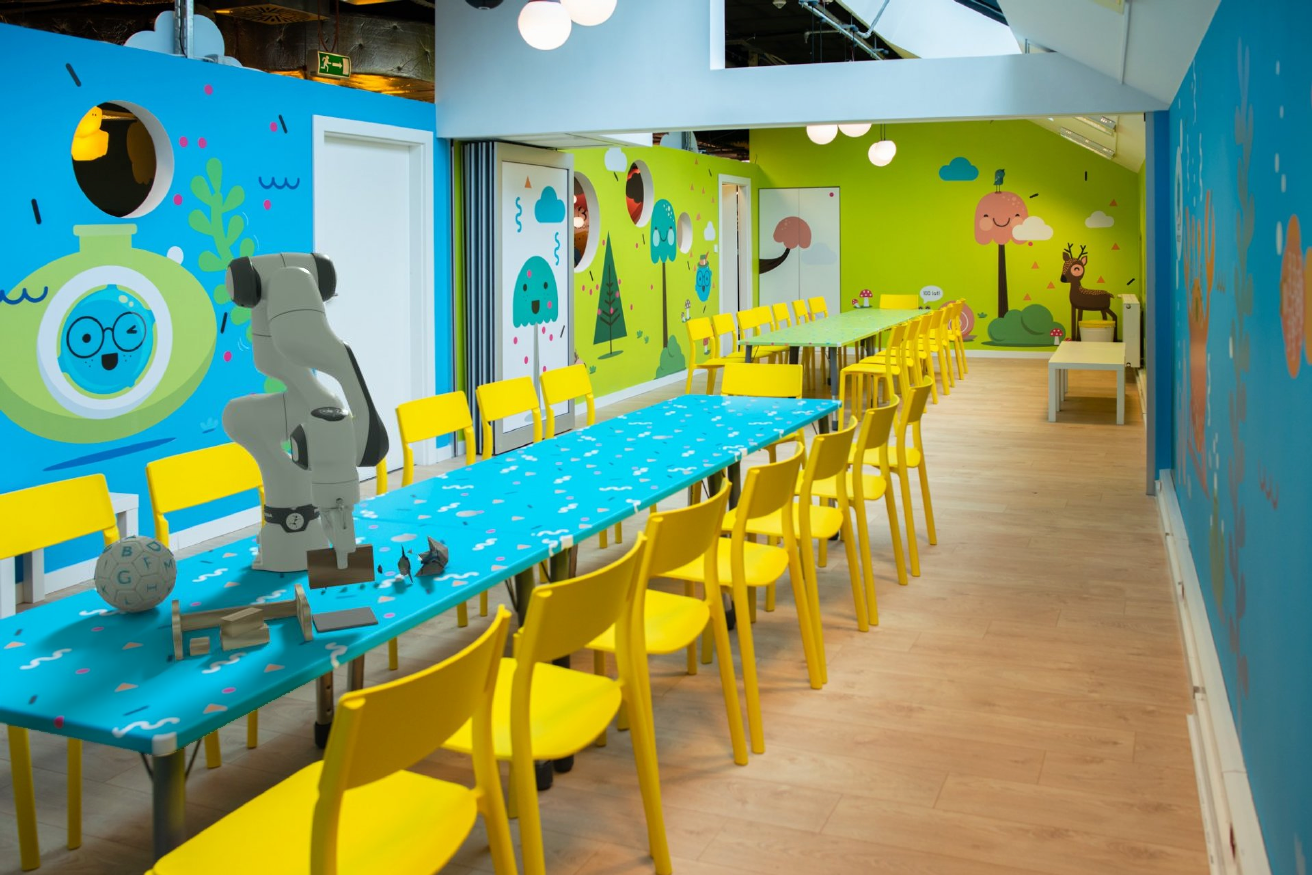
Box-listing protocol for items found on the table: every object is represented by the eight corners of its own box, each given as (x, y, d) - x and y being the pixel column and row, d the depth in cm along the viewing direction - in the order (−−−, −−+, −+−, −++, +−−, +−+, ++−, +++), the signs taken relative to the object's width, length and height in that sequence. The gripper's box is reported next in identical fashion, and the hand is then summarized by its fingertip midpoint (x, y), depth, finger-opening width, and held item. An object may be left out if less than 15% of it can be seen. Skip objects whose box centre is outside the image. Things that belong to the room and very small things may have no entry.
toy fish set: (455, 569, 243) (443, 529, 244) (339, 602, 230) (327, 560, 231) (441, 577, 252) (429, 539, 253) (329, 609, 239) (317, 569, 240)
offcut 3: (221, 647, 207) (219, 631, 207) (266, 638, 211) (265, 622, 211) (224, 652, 205) (222, 636, 204) (270, 643, 209) (269, 627, 208)
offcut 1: (192, 649, 206) (191, 638, 206) (209, 647, 207) (208, 636, 207) (190, 656, 203) (189, 646, 202) (208, 654, 204) (207, 643, 203)
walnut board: (308, 586, 217) (306, 550, 216) (373, 578, 222) (370, 543, 220) (310, 589, 215) (307, 553, 214) (375, 581, 220) (372, 545, 218)
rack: (174, 630, 216) (171, 599, 215) (302, 612, 225) (300, 583, 223) (175, 660, 200) (172, 627, 199) (313, 639, 209) (310, 608, 208)
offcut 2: (221, 634, 205) (219, 618, 204) (252, 622, 211) (251, 607, 210) (232, 637, 203) (231, 620, 203) (263, 625, 209) (262, 609, 209)
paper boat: (444, 572, 246) (401, 563, 245) (440, 591, 250) (399, 582, 249) (456, 531, 254) (415, 522, 254) (452, 550, 259) (412, 541, 258)
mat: (312, 616, 222) (311, 614, 222) (369, 608, 226) (369, 606, 226) (318, 632, 213) (318, 630, 213) (378, 623, 217) (378, 621, 217)
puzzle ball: (188, 595, 237) (181, 525, 234) (169, 619, 222) (162, 544, 220) (111, 600, 235) (103, 529, 232) (86, 624, 220) (78, 549, 218)
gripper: (361, 503, 207) (366, 577, 209) (345, 482, 226) (350, 550, 228) (325, 507, 205) (331, 581, 207) (312, 486, 223) (317, 554, 226)
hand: (341, 565), depth 218 cm, fingers closed on walnut board, 2 cm apart
